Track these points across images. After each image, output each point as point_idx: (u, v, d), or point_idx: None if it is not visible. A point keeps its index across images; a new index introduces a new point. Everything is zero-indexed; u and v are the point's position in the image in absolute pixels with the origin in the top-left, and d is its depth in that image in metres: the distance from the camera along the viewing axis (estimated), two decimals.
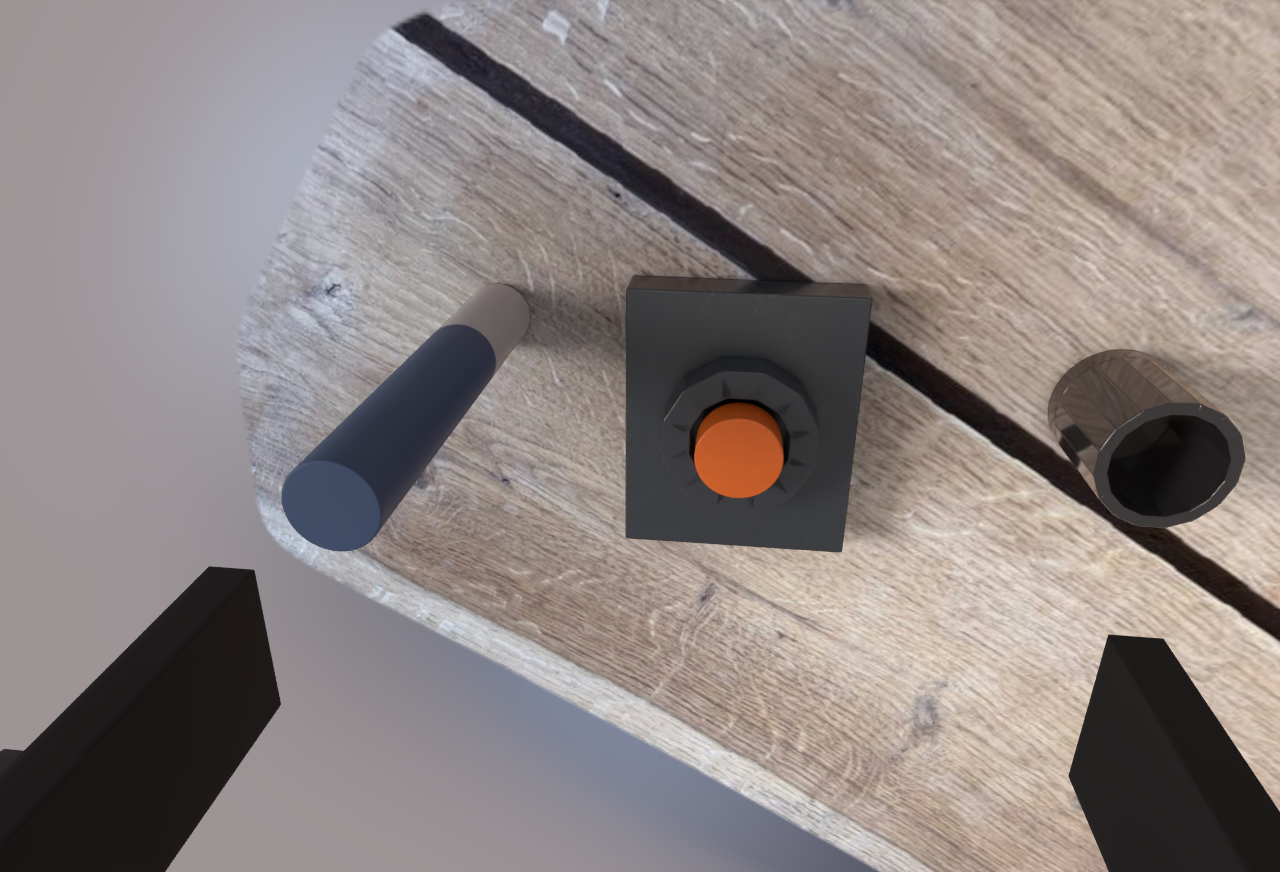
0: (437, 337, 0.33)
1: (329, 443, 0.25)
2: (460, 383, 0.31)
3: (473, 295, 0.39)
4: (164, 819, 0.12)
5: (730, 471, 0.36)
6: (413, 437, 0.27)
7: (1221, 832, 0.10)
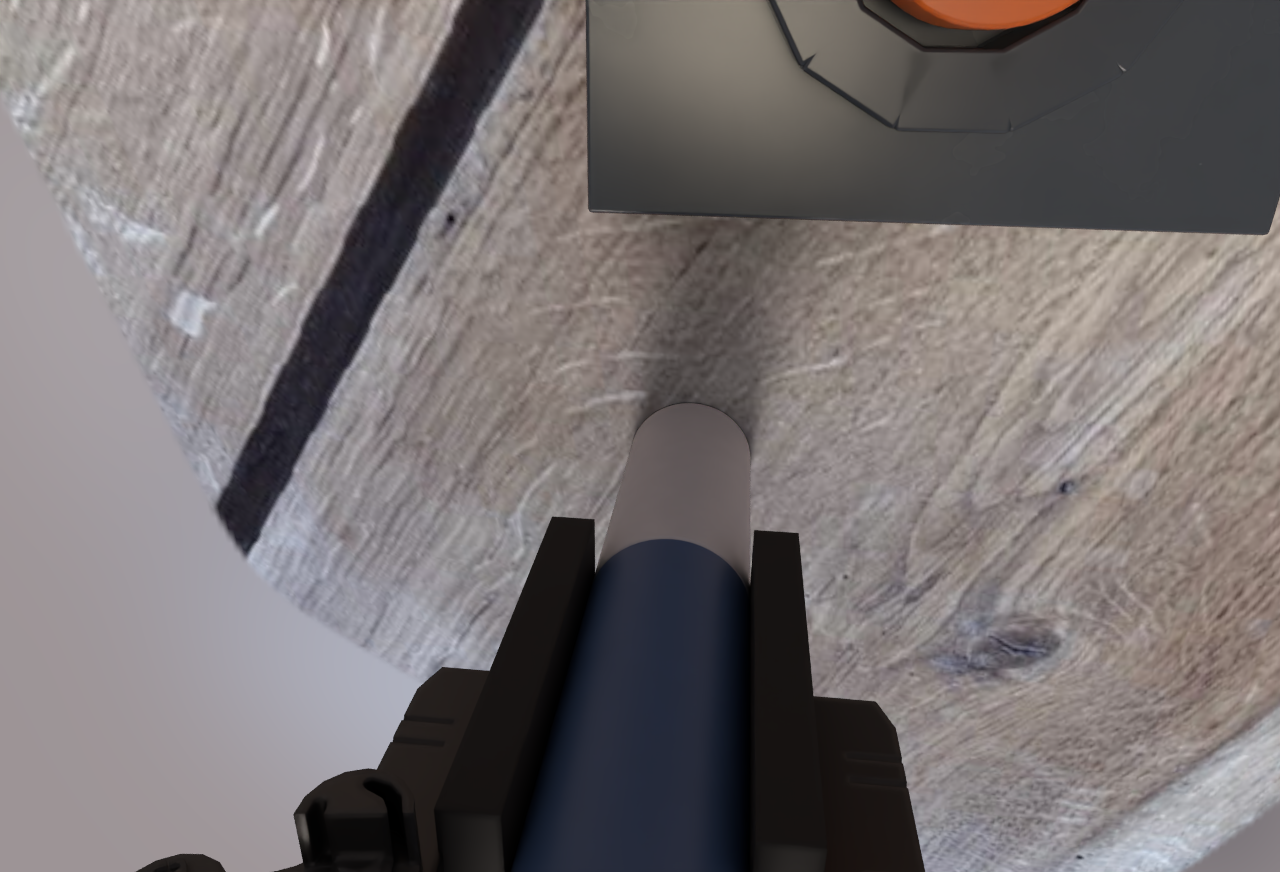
0: None
1: None
2: (596, 712, 0.11)
3: None
4: None
5: None
6: None
7: (756, 661, 0.12)
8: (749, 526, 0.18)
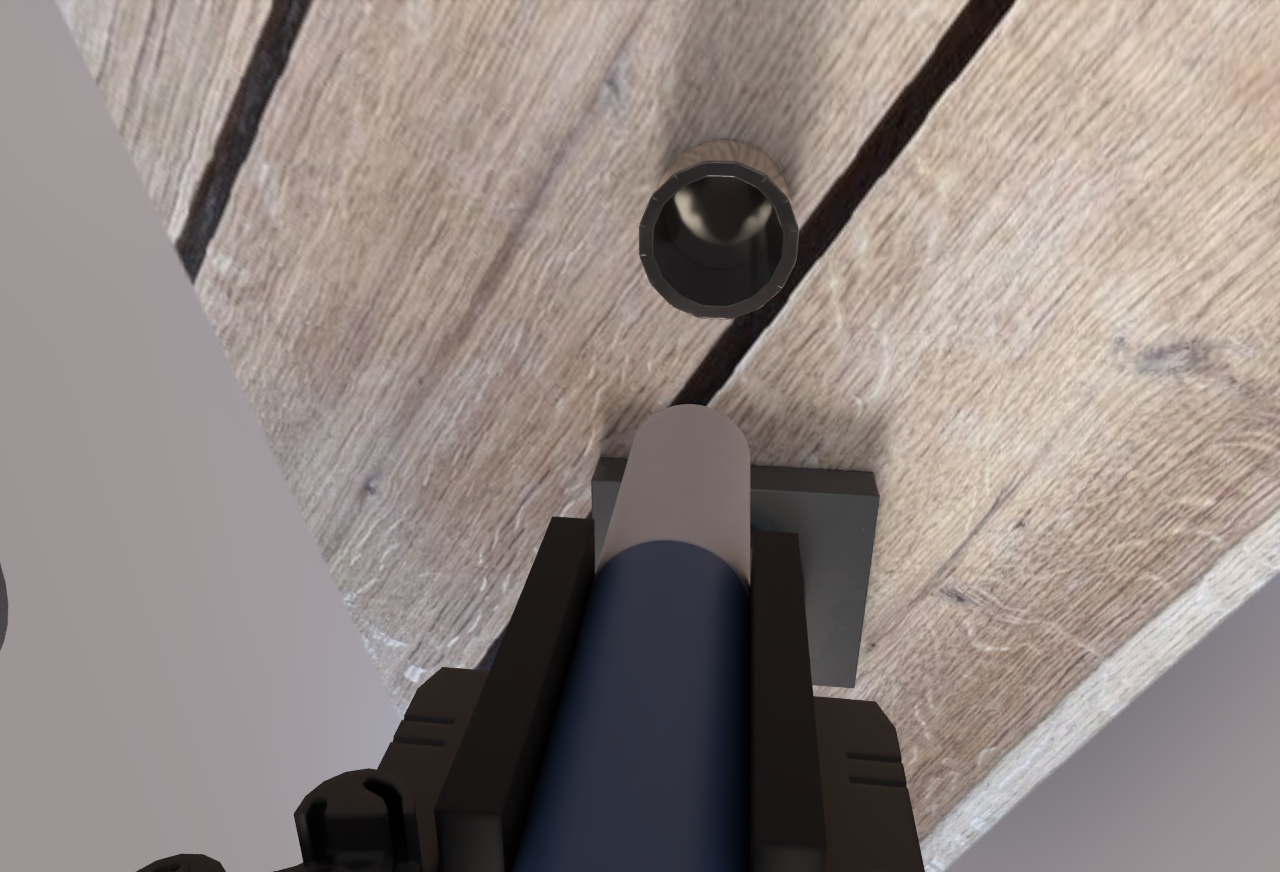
0: None
1: None
2: (596, 713, 0.11)
3: None
4: None
5: None
6: None
7: (756, 661, 0.12)
8: (749, 527, 0.18)
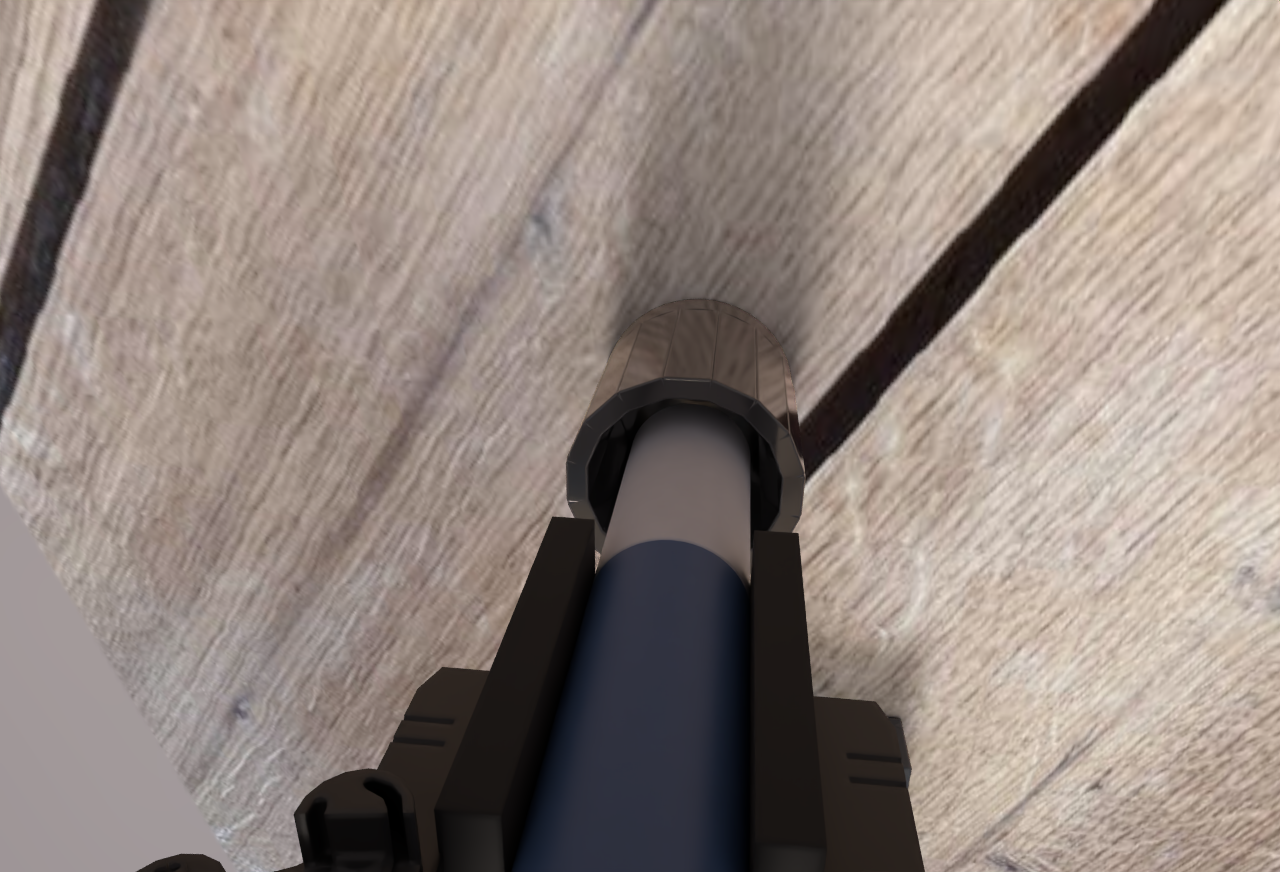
0: None
1: None
2: (596, 712, 0.11)
3: None
4: None
5: None
6: None
7: (755, 661, 0.12)
8: (749, 527, 0.18)
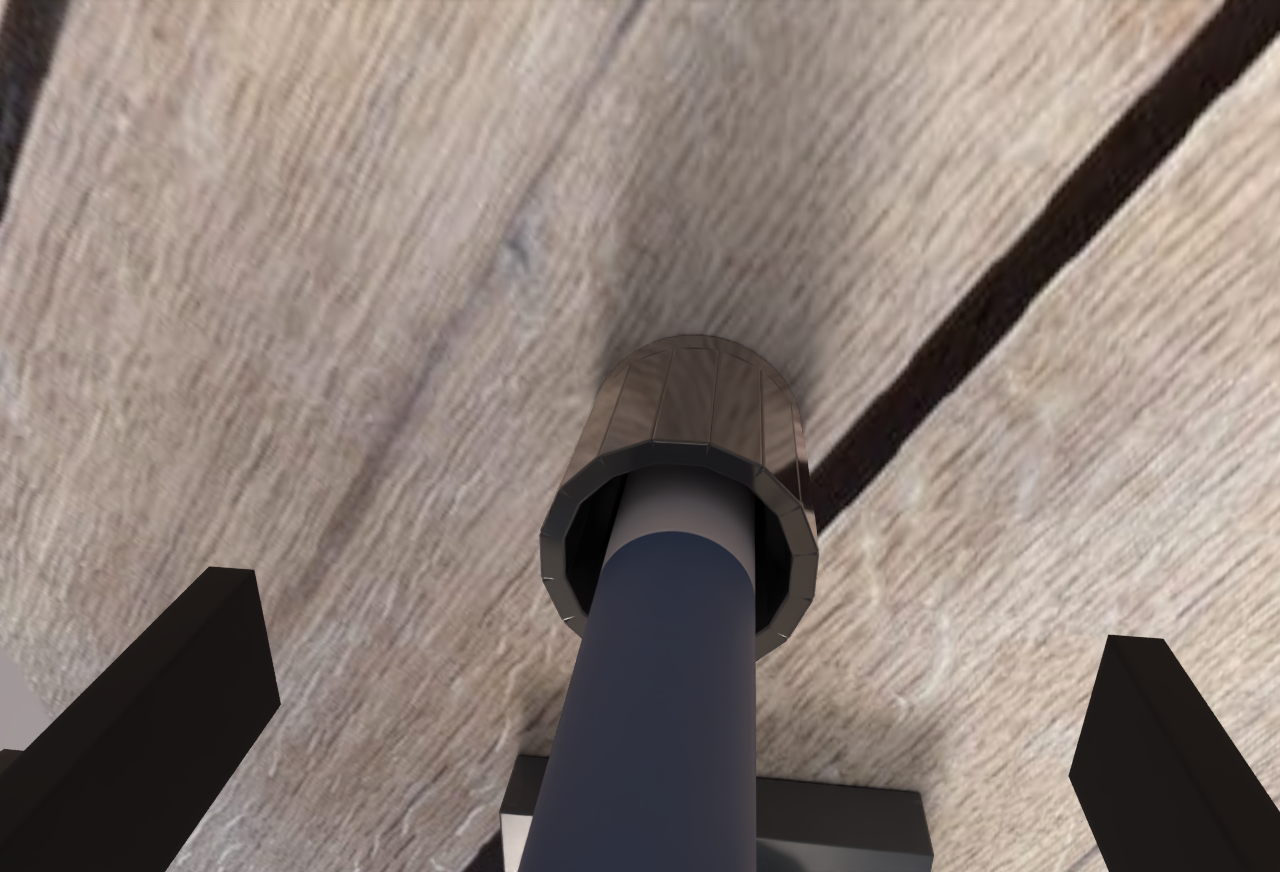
0: None
1: None
2: (606, 698, 0.12)
3: None
4: (164, 819, 0.12)
5: None
6: None
7: (1221, 832, 0.10)
8: (754, 520, 0.18)
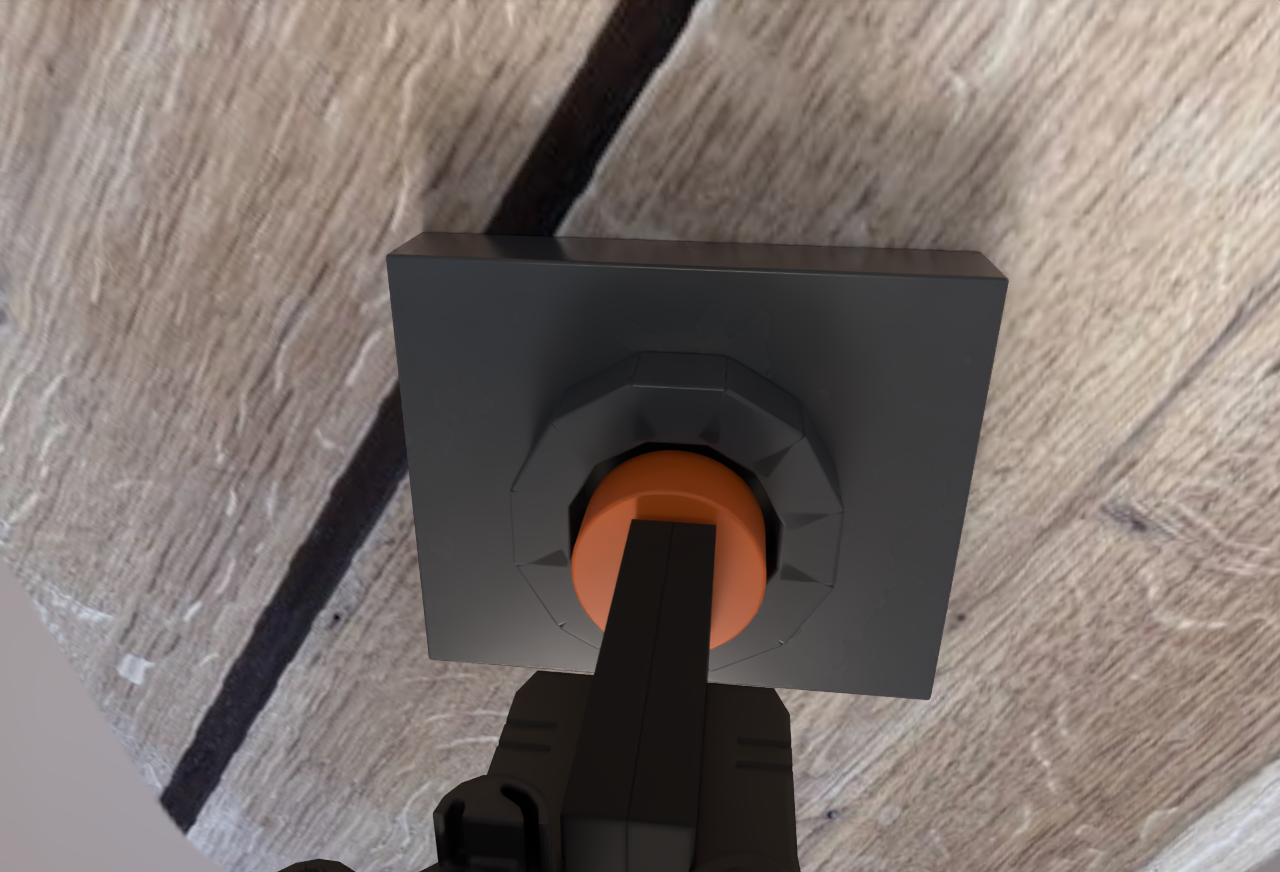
0: None
1: None
2: None
3: None
4: None
5: None
6: None
7: (655, 648, 0.13)
8: None
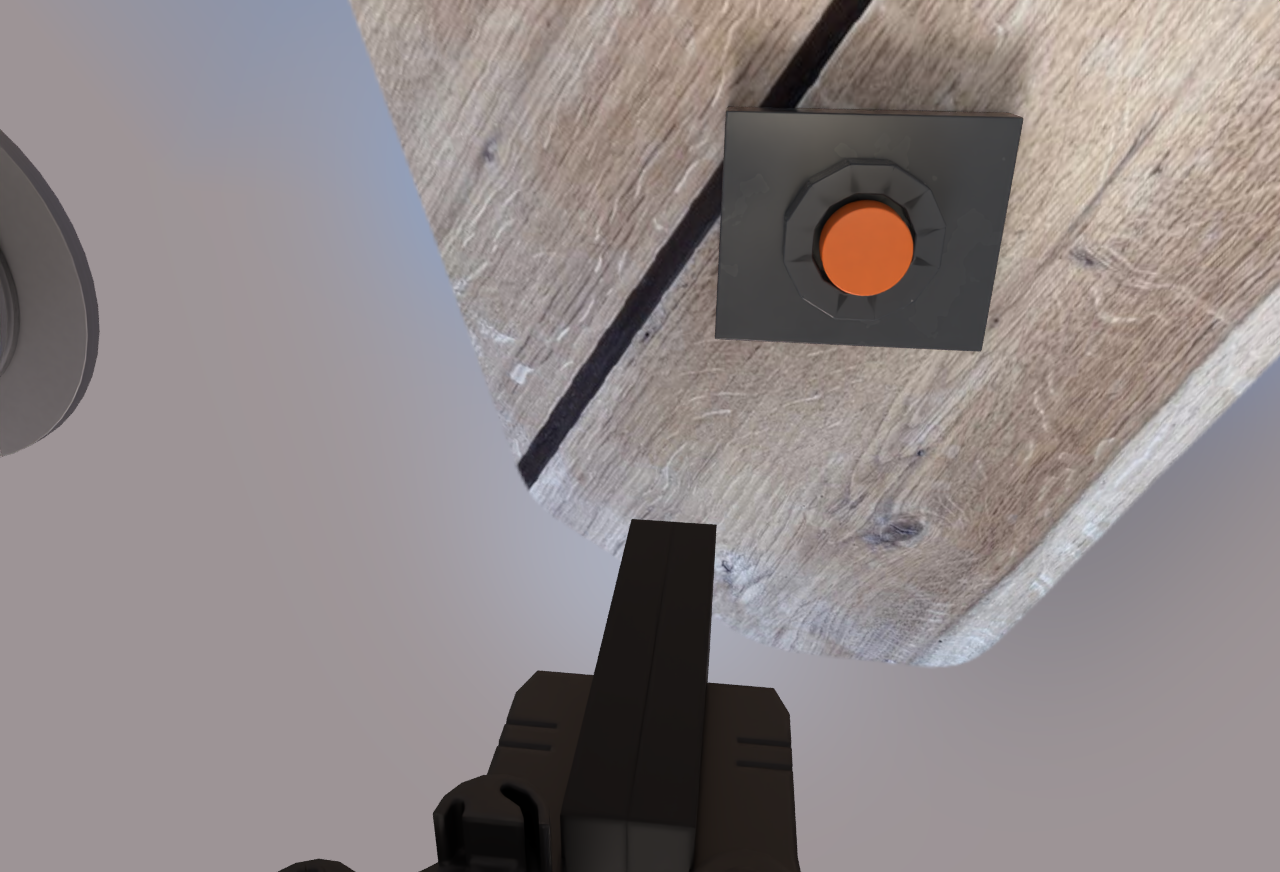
0: None
1: None
2: None
3: None
4: None
5: (880, 260, 0.36)
6: None
7: (655, 648, 0.13)
8: None
